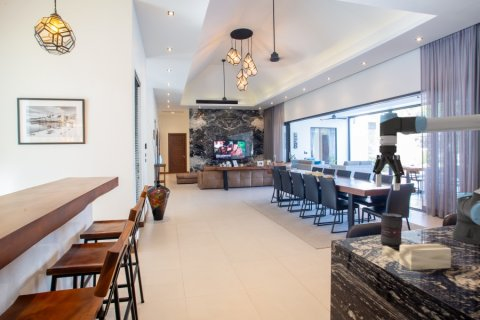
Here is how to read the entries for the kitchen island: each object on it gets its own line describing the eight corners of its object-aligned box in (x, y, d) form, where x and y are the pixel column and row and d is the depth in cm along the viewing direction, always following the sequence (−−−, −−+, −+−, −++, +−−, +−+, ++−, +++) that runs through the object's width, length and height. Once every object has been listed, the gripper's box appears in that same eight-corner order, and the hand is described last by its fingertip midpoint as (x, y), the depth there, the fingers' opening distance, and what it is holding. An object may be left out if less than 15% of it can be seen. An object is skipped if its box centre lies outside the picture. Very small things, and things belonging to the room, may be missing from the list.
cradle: (380, 253, 117) (381, 236, 117) (415, 251, 119) (415, 235, 119) (411, 269, 100) (411, 250, 100) (450, 267, 103) (451, 248, 102)
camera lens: (404, 252, 118) (405, 217, 118) (383, 251, 120) (384, 216, 119) (397, 246, 126) (398, 213, 126) (378, 245, 128) (379, 212, 127)
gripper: (365, 145, 149) (365, 185, 150) (399, 144, 125) (398, 192, 125) (378, 145, 150) (378, 185, 151) (414, 144, 126) (413, 191, 126)
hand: (387, 188), depth 138 cm, fingers open, 12 cm apart
